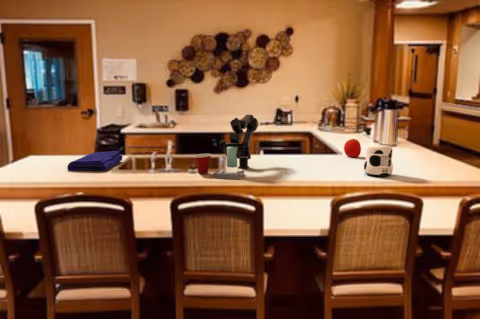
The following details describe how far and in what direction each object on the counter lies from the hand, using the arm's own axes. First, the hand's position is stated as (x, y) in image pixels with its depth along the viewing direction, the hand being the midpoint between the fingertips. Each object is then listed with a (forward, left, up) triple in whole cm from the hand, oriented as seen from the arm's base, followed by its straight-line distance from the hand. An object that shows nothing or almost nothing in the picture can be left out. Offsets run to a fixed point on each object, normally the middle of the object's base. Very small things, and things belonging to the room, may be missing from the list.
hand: (231, 156), depth 295 cm
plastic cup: (0, -18, -12) cm, 22 cm away
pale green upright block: (-1, 0, -7) cm, 7 cm away
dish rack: (+4, 0, -12) cm, 12 cm away
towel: (-6, -94, -12) cm, 95 cm away
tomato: (-84, +74, -12) cm, 113 cm away
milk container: (-22, +89, -12) cm, 92 cm away
